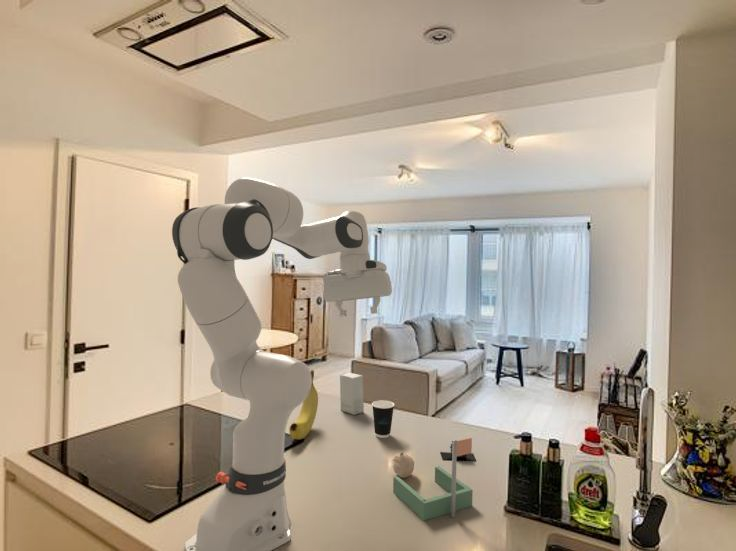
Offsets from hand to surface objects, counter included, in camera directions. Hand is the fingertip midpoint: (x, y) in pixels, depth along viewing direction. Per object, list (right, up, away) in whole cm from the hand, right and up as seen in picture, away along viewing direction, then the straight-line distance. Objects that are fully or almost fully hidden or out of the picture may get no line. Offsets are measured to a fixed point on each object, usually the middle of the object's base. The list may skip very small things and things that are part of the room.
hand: (358, 314), depth 122 cm
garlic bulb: (+13, -45, -2) cm, 47 cm away
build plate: (+31, -46, +11) cm, 56 cm away
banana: (-20, -44, +26) cm, 55 cm away
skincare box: (-4, -44, +51) cm, 67 cm away
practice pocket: (+19, -45, -15) cm, 51 cm away
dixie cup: (+8, -44, +26) cm, 52 cm away
